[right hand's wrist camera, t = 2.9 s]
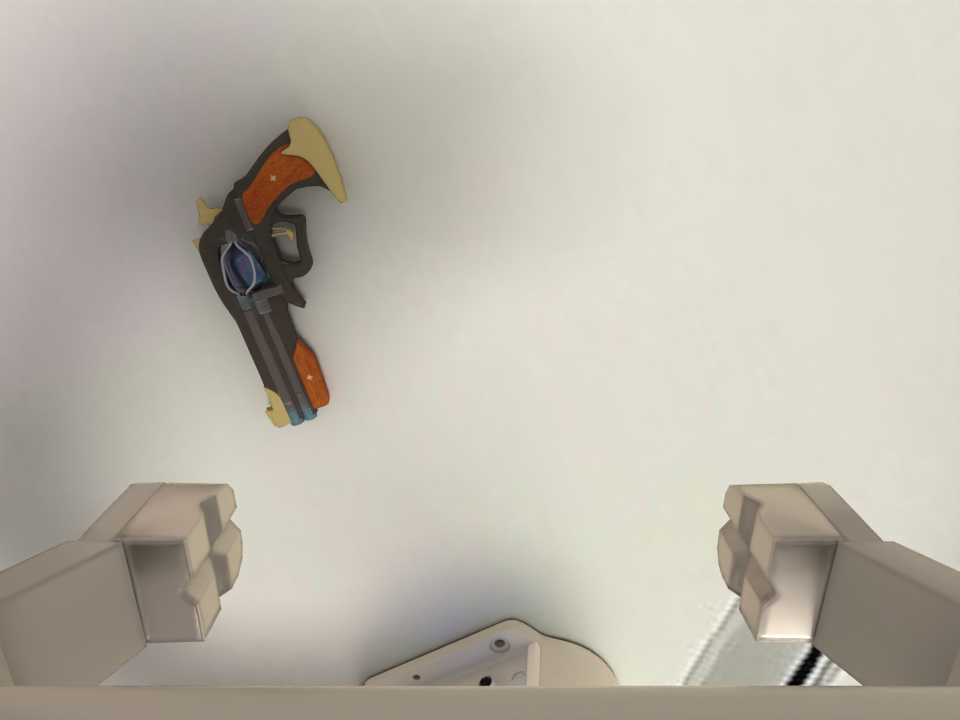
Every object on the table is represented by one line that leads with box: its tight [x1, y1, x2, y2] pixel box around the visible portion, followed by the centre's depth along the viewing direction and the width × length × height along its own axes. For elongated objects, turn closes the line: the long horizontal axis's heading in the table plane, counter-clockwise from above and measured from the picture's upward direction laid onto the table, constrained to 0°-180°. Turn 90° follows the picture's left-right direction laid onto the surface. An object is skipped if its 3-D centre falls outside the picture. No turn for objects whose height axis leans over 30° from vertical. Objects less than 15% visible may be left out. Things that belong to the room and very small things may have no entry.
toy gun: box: [192, 117, 347, 427], centre depth 41 cm, size 3×19×10 cm
